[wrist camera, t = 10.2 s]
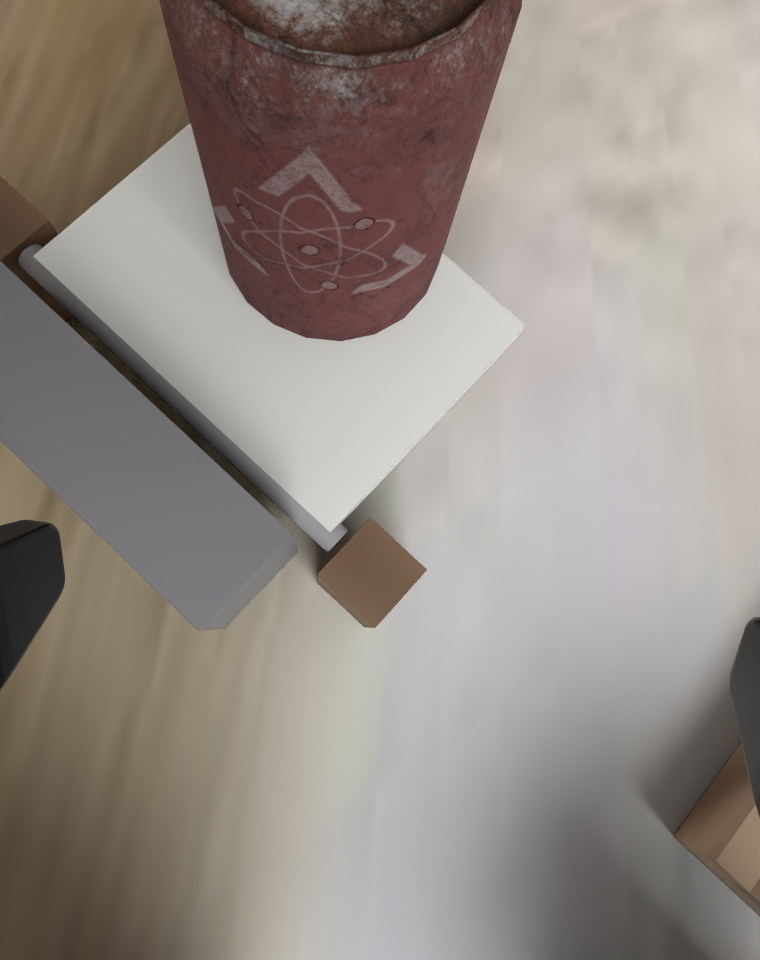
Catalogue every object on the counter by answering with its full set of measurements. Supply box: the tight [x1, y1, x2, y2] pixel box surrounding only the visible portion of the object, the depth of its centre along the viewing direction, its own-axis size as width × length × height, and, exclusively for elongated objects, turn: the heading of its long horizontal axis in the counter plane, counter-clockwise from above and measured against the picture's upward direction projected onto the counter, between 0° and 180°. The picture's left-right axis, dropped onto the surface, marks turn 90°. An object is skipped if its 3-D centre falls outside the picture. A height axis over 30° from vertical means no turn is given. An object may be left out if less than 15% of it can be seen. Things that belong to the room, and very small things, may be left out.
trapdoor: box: [0, 123, 525, 631], centre depth 20 cm, size 12×12×4 cm
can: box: [159, 0, 522, 341], centre depth 18 cm, size 6×6×14 cm
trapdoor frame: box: [0, 176, 427, 628], centre depth 21 cm, size 2×16×4 cm, turn 47°
